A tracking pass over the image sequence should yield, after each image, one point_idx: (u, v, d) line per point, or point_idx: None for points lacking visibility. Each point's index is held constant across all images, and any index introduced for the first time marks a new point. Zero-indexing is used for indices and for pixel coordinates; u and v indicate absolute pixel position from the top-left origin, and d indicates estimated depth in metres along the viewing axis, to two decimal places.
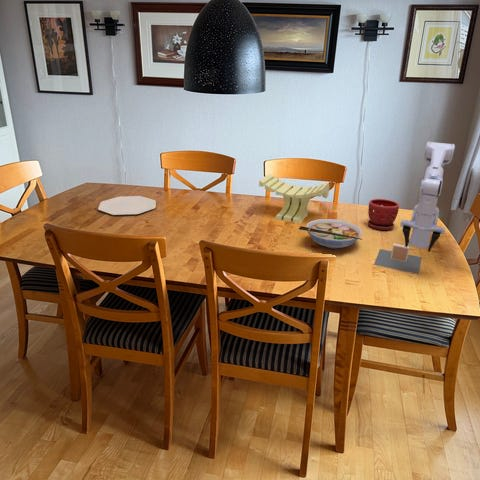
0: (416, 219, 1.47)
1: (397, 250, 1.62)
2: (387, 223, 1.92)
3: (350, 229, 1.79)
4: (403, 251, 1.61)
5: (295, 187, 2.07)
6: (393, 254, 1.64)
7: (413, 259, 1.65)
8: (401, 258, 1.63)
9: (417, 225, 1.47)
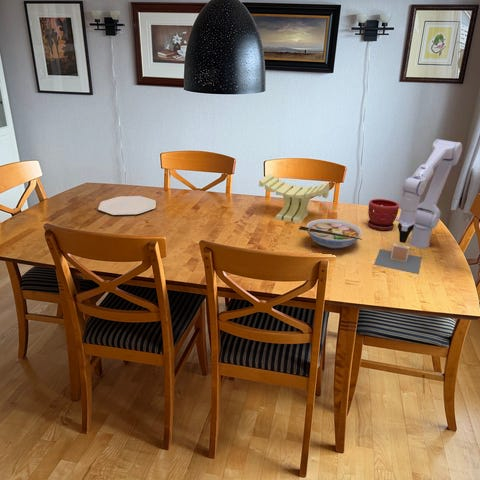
0: None
1: (397, 250, 1.62)
2: (387, 223, 1.92)
3: (350, 229, 1.79)
4: (403, 251, 1.61)
5: (295, 187, 2.07)
6: (393, 254, 1.64)
7: (413, 259, 1.65)
8: (401, 258, 1.63)
9: None
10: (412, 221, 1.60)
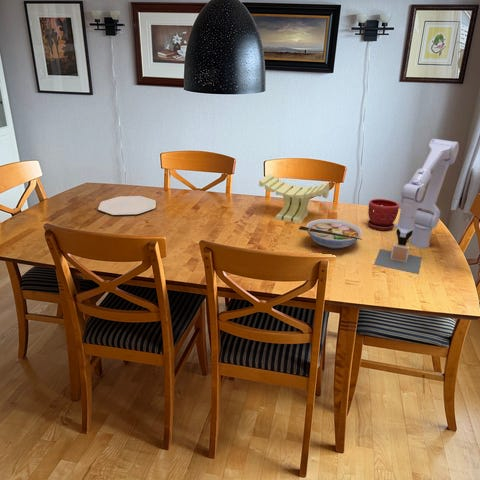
0: None
1: (397, 250, 1.62)
2: (387, 223, 1.92)
3: (350, 229, 1.79)
4: (403, 251, 1.61)
5: (295, 187, 2.07)
6: (393, 254, 1.64)
7: (413, 259, 1.65)
8: (401, 258, 1.63)
9: None
10: (411, 227, 1.59)
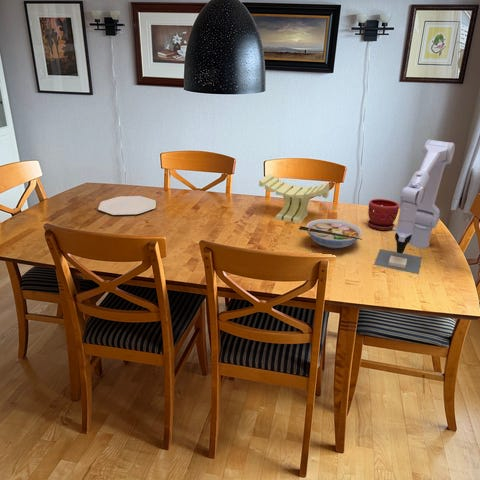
0: None
1: None
2: (387, 223, 1.92)
3: (350, 229, 1.79)
4: None
5: (295, 187, 2.07)
6: None
7: (413, 259, 1.65)
8: None
9: None
10: (410, 231, 1.55)
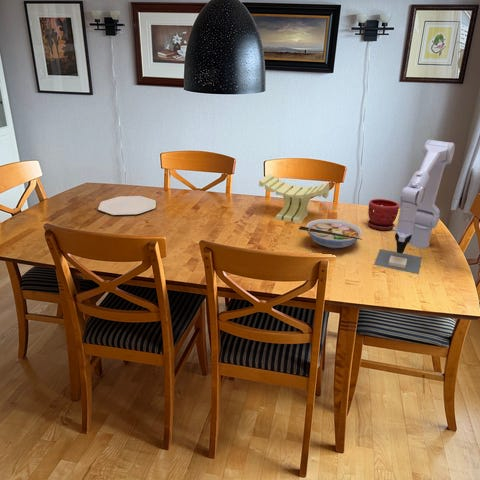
0: None
1: None
2: (387, 223, 1.92)
3: (350, 229, 1.79)
4: None
5: (295, 187, 2.07)
6: None
7: (413, 259, 1.65)
8: None
9: None
10: (410, 231, 1.55)
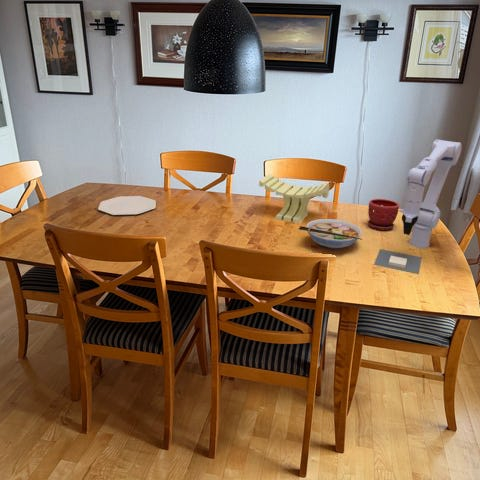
0: None
1: None
2: (387, 223, 1.92)
3: (350, 229, 1.79)
4: None
5: (295, 187, 2.07)
6: None
7: (413, 259, 1.65)
8: None
9: None
10: (416, 212, 1.57)
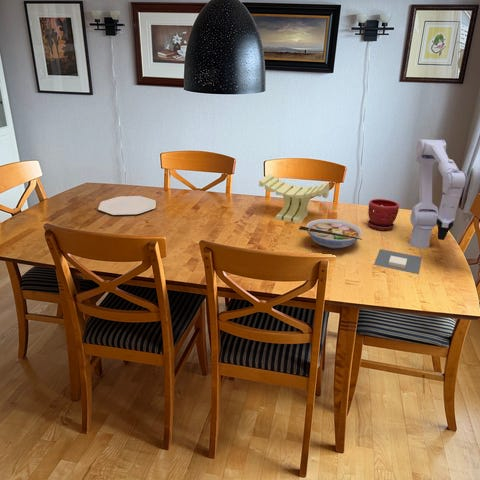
0: None
1: None
2: (387, 223, 1.92)
3: (350, 229, 1.79)
4: None
5: (295, 187, 2.07)
6: None
7: (413, 259, 1.65)
8: None
9: None
10: (452, 217, 1.53)
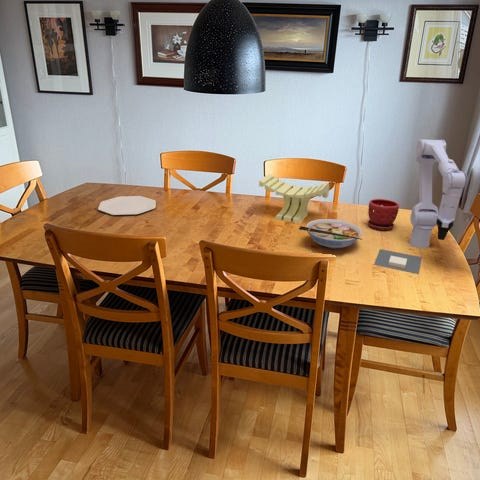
0: None
1: None
2: (387, 223, 1.92)
3: (350, 229, 1.79)
4: None
5: (295, 187, 2.07)
6: None
7: (413, 259, 1.65)
8: None
9: None
10: (452, 217, 1.53)
